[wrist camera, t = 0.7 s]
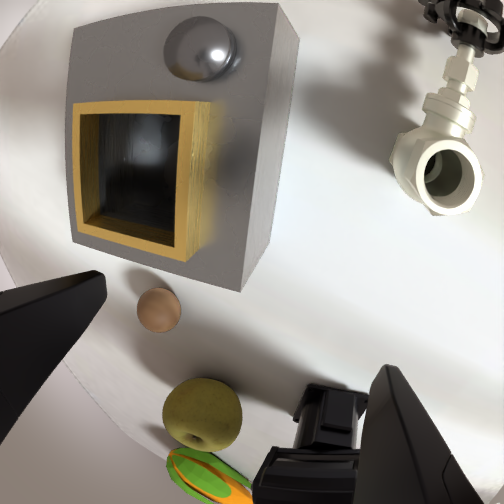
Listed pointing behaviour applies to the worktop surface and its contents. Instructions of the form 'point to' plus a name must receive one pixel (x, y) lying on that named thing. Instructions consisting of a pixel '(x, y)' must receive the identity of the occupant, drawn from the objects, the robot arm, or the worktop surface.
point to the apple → (203, 414)
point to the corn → (207, 477)
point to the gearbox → (180, 136)
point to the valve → (449, 114)
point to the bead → (158, 310)
